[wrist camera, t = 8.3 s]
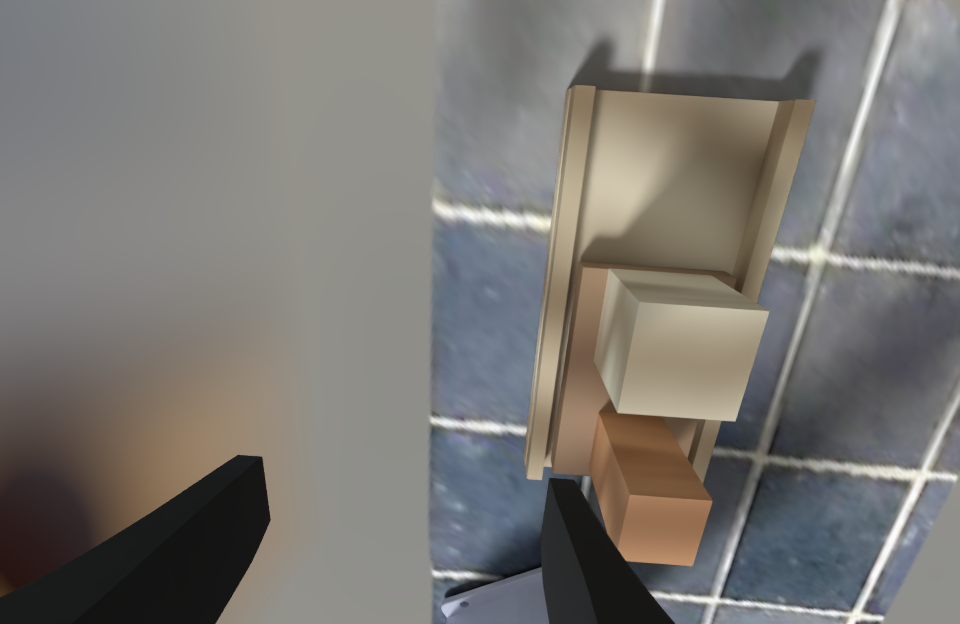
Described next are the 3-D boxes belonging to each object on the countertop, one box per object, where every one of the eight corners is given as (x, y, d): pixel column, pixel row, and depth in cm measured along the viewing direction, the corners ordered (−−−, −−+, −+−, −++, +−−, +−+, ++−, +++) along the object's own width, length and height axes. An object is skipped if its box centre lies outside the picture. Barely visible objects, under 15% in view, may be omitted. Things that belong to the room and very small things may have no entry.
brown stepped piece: (673, 468, 22) (733, 579, 16) (550, 459, 22) (569, 566, 16) (724, 271, 18) (824, 327, 13) (578, 261, 19) (614, 312, 13)
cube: (688, 366, 19) (735, 421, 15) (593, 359, 19) (617, 412, 15) (711, 275, 18) (769, 311, 14) (608, 268, 18) (639, 302, 14)
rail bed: (686, 466, 23) (701, 491, 21) (523, 454, 23) (525, 478, 22) (786, 104, 17) (817, 100, 15) (566, 90, 17) (574, 84, 16)
